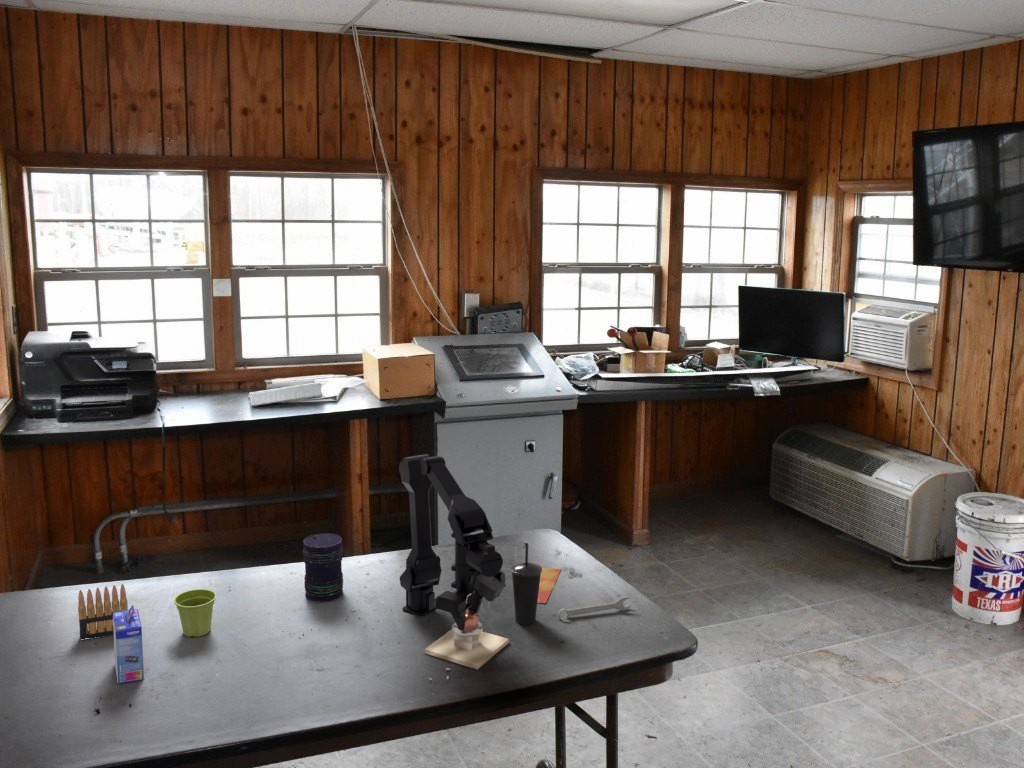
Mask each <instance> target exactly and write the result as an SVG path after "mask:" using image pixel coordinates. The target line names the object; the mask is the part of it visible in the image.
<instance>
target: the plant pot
mask: <svg viewBox="0 0 1024 768" xmlns="http://www.w3.org/2000/svg"><path fill="white" fill-rule="evenodd" d="M216 599H217V593H216V592H215V591H213V590H211V589H207V588H205V589H204V588H197V589H195V588H194V589H190V590H186V591H183V592H181V593H179V594H178V595H176V596H175V597H174V599H173V603H174V605H175V606H176V609H177V610H178V614H179V619H180V624H181V627H182V633H183V635H184V636H186V637H189V638H190V637H195V638H197V637H198V638H199V637H203V636H205V635H207V634H208V633H209V632H210V630H211V629H212V620H213V619H212V617H213V610H214V609H213V608H214V604H215V601H216Z"/></svg>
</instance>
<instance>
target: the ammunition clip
mask: <svg viewBox="0 0 1024 768" xmlns="http://www.w3.org/2000/svg"><path fill="white" fill-rule="evenodd" d="M108 588H109V587H108V586H105V587H104V590H103V601H102V594H101V590H100V587H96V590H95V604H94V597H93V596H94V595H93V593H92V592H93V591H92V590H91V589H90V588H88V589H87V594H86V601H85V596H84V593H83V591H82V589H80V590H79V591H78V603H77V604H78V605H77V606H78V607H77V609H78V611H77V613H78V623H79V641H80V640H81V639H85V638H94V639H97V637H100V638H105V637H110V636H114V630H113V613H116V612H121V611H127V610H129V603H128V602H129V601H128V599H127V593H126V588H125V585H124V583H121V584H120V588H119V589H120V594H119V595H118V589H117V587H116V585H115V584H113V586H112V589H111V596H112V597H110V591H109V589H108ZM103 636H105V637H103ZM95 637H96V638H95ZM81 641H82V640H81Z"/></svg>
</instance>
